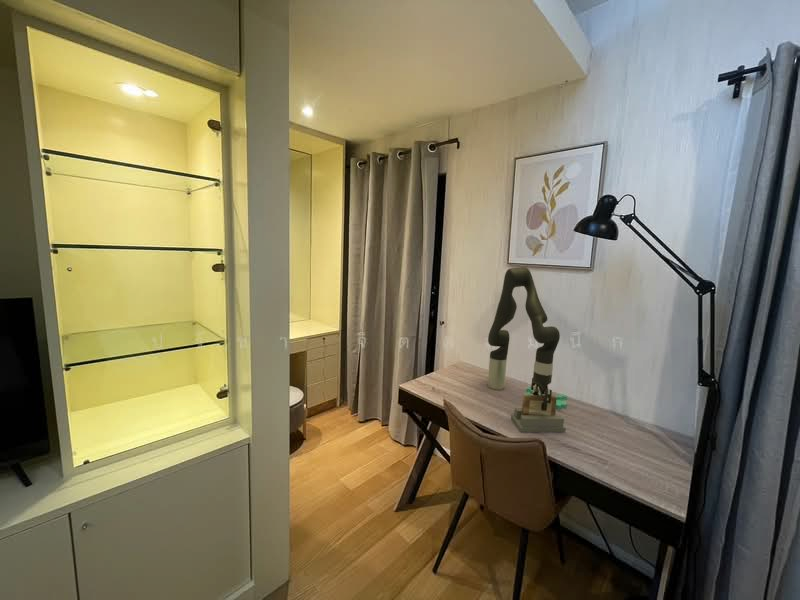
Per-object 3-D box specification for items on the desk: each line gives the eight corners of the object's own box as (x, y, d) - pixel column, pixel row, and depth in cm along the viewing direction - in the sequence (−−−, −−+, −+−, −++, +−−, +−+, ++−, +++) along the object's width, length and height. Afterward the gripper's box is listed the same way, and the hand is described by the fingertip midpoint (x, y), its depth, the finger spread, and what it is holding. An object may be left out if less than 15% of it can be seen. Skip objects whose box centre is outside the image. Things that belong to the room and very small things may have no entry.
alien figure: (527, 390, 191) (521, 405, 173) (527, 387, 190) (522, 401, 173) (566, 399, 181) (565, 415, 164) (566, 395, 181) (565, 410, 164)
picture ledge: (511, 419, 158) (512, 407, 157) (552, 419, 159) (554, 407, 158) (520, 432, 147) (521, 419, 146) (565, 432, 148) (566, 419, 147)
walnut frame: (521, 419, 153) (523, 394, 151) (551, 419, 154) (553, 395, 152) (523, 422, 151) (525, 397, 149) (554, 422, 151) (557, 397, 149)
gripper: (527, 365, 155) (524, 398, 158) (542, 377, 141) (538, 413, 144) (543, 365, 156) (540, 398, 158) (559, 377, 142) (555, 413, 144)
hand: (539, 405), depth 151 cm, fingers open, 8 cm apart
